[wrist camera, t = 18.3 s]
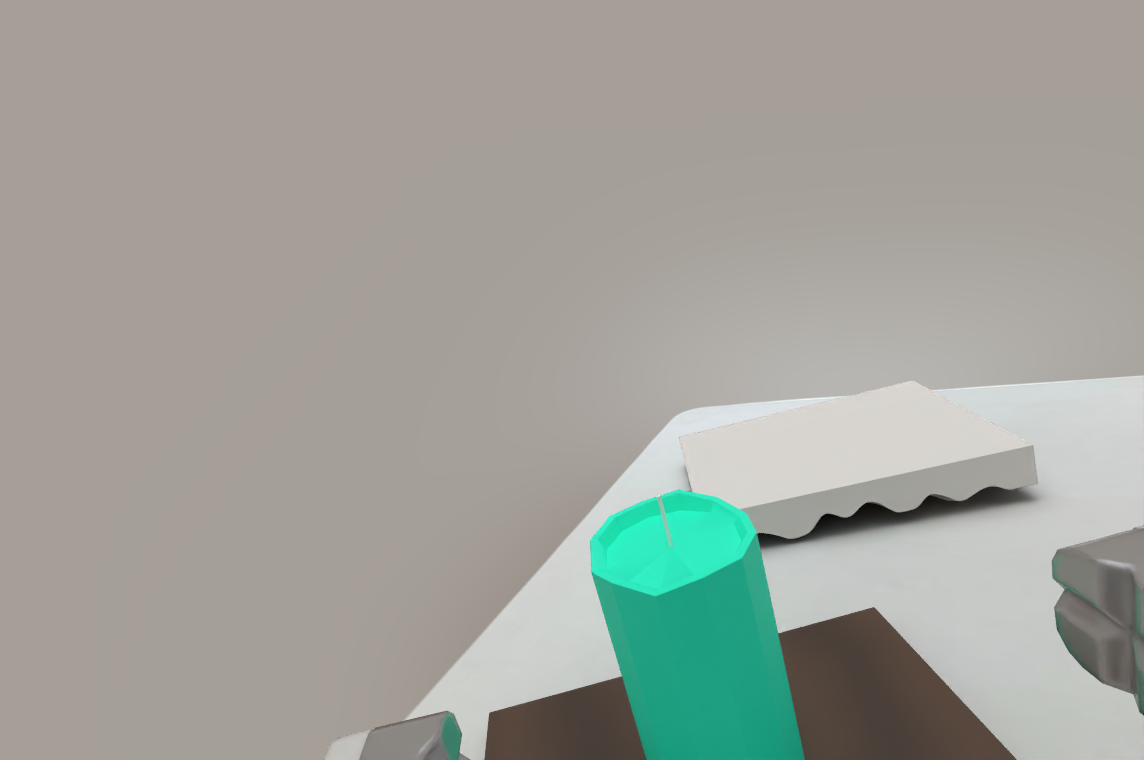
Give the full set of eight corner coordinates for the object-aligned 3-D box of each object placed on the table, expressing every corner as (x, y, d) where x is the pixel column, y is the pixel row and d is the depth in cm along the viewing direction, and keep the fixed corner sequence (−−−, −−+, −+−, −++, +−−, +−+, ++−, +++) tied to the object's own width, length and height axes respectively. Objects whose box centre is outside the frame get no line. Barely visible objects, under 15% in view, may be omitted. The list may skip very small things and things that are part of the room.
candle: (665, 699, 27) (600, 466, 24) (802, 705, 24) (749, 449, 22) (639, 831, 21) (552, 550, 18) (812, 854, 19) (743, 538, 16)
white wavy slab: (710, 562, 38) (1039, 495, 35) (698, 518, 37) (1033, 444, 34) (687, 470, 52) (918, 417, 49) (678, 437, 52) (912, 380, 48)
